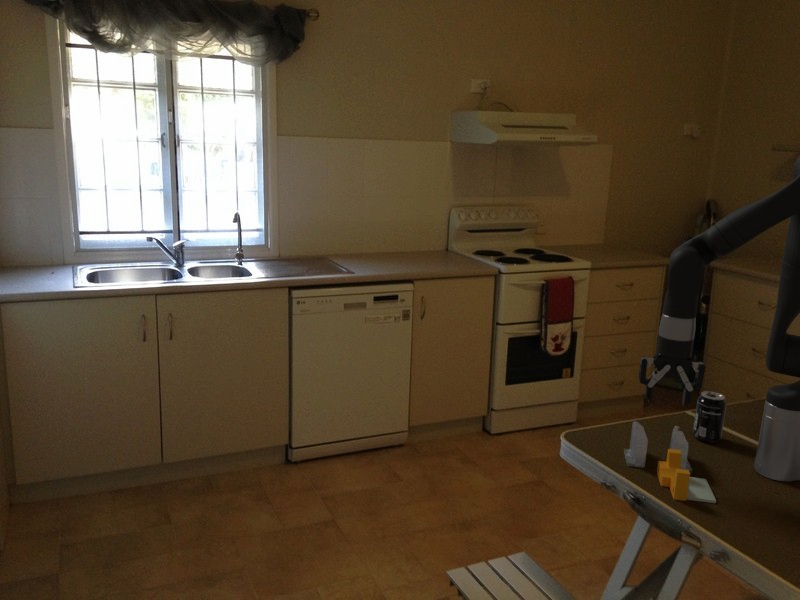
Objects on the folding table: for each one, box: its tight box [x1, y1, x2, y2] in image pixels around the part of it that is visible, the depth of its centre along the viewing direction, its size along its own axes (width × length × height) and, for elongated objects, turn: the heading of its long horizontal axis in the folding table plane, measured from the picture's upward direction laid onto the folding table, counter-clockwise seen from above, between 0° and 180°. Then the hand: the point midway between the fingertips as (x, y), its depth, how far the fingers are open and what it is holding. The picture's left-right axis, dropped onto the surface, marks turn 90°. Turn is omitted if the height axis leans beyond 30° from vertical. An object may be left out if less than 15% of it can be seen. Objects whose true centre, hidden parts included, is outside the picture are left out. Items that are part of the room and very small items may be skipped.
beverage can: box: [692, 390, 727, 444], centre depth 184 cm, size 7×7×12 cm
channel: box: [623, 420, 693, 475], centre depth 171 cm, size 14×11×7 cm
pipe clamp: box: [656, 448, 691, 502], centre depth 159 cm, size 12×4×6 cm, turn 169°
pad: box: [686, 476, 717, 504], centre depth 158 cm, size 6×10×1 cm, turn 169°
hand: (666, 403), depth 165 cm, fingers open, 7 cm apart
